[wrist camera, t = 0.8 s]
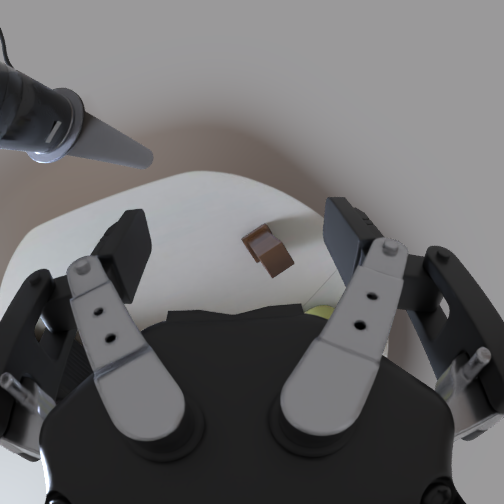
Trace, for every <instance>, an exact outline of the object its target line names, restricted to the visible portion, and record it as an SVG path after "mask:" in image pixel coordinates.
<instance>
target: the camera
mask: <svg viewBox="0 0 504 504" xmlns="http://www.w3.org/2000/svg"><path fill="white" fill-rule="evenodd" d="M92 373H93V370H92V367H91V365H90V362H89V360H88V357H87V354H86V351H85V349H84V347H83V346H82V345H80V344H79V343H78V342H77V341H76V340H75V339H74V341H73V344H72V347H71V350H70V353H69V356H68V359H67V362H66V365H65V368H64V372H63V375H62V378H61V382H60V386H59V389H58V393H57V397H56V401H55V404H56V405H57V404H59V403H60V402H61V401H62V400H63V399H64V398H65V397H66V396H67V395H68V394H70V393H71V392H72V391H73V390H74V389H75V388H76V387H77V386H79V385H80V384H81V383H82V382H83V381H84V380H85V379H86V378H87V377H89V376H90V375H91V374H92Z"/></svg>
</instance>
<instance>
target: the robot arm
mask: <svg viewBox="0 0 504 504" xmlns="http://www.w3.org/2000/svg"><path fill="white" fill-rule="evenodd" d="M0 39H1V43H2V50H3V56H4V60H5V63H6V64H4V63H2V62H0V149H10V150H18V151H27V152H34V153H38V154H50V153H52V152H54V151H56V150H57V149H59V148H60V147H61V146H62V145H63V144H64V143H65V142H66V140H67V139H68V137H69V135H70V133H71V131H72V129H73V125H74V121H75V110H74V106H73V104H72V102H71V101H70V100H69V99H68V98H67V97H65V96H64V95H61V94H59V93H57V92H55V91H54V90H52V89H50V88H48V87H47V86H44V85H43V84H41V83H39V82H38V81H36V80H34V79H32V78H30V77H29V76H27V75H25V74H23V73H21V72H19V71H18V70H15V69H14V68H13V66H12V65H11V63H10V61H9V59H8V56H7V52H6V45H5V40H4V36H3V33H2V30H1V28H0ZM323 238H324V242H325V244H326V246H327V249H328V251H329V253H330V255H331V257H332V259H333V261H334V263H335V265H336V267H337V269H338V271H339V273H340V275H341V278H342V280H343V282H344V284H345V286H346V289H345V291H344V293H343V295H342V297H341V298H340V300H339V302H338V304H337V306H336V307H335V309H334V311H333V313H332V314H331V316H330V318H329V320H328V319H326V318H323V317H320V316H317V315H313V314H307V313H303V309H302V305H301V304H289V305H277V306H267V307H263V308H260V309H256V310H252V311H248V312H244V313H240V314H236V315H229V314H222V313H216V312H209V311H203V310H184V311H168V314H167V319H166V321H163V322H160V323H157V324H154V325H152V326H149V327H147V328H146V329H144V330H142V331H141V332H140V331H139V329H138V328H137V326H136V324H135V323H134V321H133V319H132V318H131V316H130V314H129V313H128V311H127V309H126V307H125V306H124V304H132V301H133V299H134V296H135V293H136V290H137V288H138V285H139V282H140V279H141V277H142V274H143V272H144V269H145V266H146V264H147V261H148V259H149V256H150V254H151V249H152V244H151V238H150V234H149V230H148V226H147V221H146V217H145V213H144V211H143V209H134V210H126V211H125V212H124V214H123V215H122V217H121V218H120V219H119V221H118V222H116V223H115V224H113V225H112V226H111V227H109V228H108V230H107V231H106V232H105V234H104V236H103V237H102V238H101V240H100V242H99V243H98V244H97V246H96V247H95V249H94V250H93V252H92V253H91V255H90V256H84V257H82V258H79V259H77V260H76V261H74V262H73V263H72V264H71V265H70V266H69V267H68V269H67V272H66V273H67V275H65V276H61V277H58V278H55V279H53V278H52V276H51V274H50V272H49V270H47V269H40V270H38V271H35V272H34V273H32V274H31V275H29V276H28V277H27V278H26V280H25V281H24V282H23V284H22V286H21V287H20V289H19V290H18V292H17V294H16V295H15V297H14V299H13V300H12V302H11V304H10V305H9V307H8V309H7V311H6V312H5V314H4V316H3V318H2V320H1V321H0V445H1V446H3V447H4V448H6V449H8V450H9V451H11V452H13V453H16V454H18V455H20V456H21V457H23V458H25V459H27V460H29V461H32V462H36V461H38V460H40V459H41V460H42V462H43V467H44V472H45V478H46V489H47V496H46V501H45V504H466V503H465V502H464V501H463V499H462V498H461V496H460V495H459V493H458V492H457V490H456V488H455V486H454V484H453V480H452V468H451V464H452V463H451V462H452V448H453V442H454V441H456V440H458V439H463V440H466V441H470V440H473V439H475V438H476V437H478V436H479V435H481V434H482V433H484V432H485V431H487V430H488V429H489V428H491V427H492V426H493V425H495V424H496V423H497V422H499V421H500V420H501V419H503V418H504V322H503V320H502V319H501V317H500V315H499V314H498V312H497V311H496V309H495V308H494V306H493V305H492V303H491V302H490V300H489V299H488V298H487V296H486V295H485V293H484V292H483V290H482V289H481V288H480V287H479V285H478V284H477V282H476V281H475V280H474V278H473V277H472V276H471V274H470V273H469V272H468V271H467V269H466V268H465V267H464V265H463V264H462V263H461V262H460V261H459V259H458V258H457V257H456V256H455V255H454V254H453V253H452V252H451V251H449V250H448V249H446V248H443V247H440V246H430V247H429V248H428V249H427V251H426V254H425V257H423V256H416V255H410V254H408V250H407V248H406V247H405V246H404V245H403V244H402V243H401V242H399V241H397V240H394V239H391V238H385V237H384V236H383V235H382V234H381V232H380V231H379V230H378V229H377V227H376V226H375V225H374V224H373V223H372V221H371V220H369V218H368V217H367V215H366V214H365V213H364V212H362V211H360V210H359V209H357V208H353V207H352V206H351V204H350V203H349V202H348V201H347V200H346V199H345V198H344V197H328V198H327V200H326V205H325V215H324V225H323ZM443 297H444V298H445V300H446V301H447V303H448V305H449V309H450V313H449V317H448V319H447V317H446V315H445V314H444V312H443V310H442V308H441V307H440V305H439V304H440V302H441V300H442V298H443ZM397 309H404V310H406V311H407V313H408V315H409V317H410V319H411V321H412V323H413V325H414V328H415V329H416V332H417V334H418V336H419V338H420V341H421V343H422V345H423V347H424V349H425V352H426V354H427V356H428V359H429V361H430V364H431V366H432V368H433V371H434V373H435V375H436V378H437V382H436V386H435V391H434V390H433V389H432V388H430V387H428V386H427V385H426V384H424V383H423V382H421V381H420V380H418V379H417V378H415V377H414V376H412V375H411V374H409V373H408V372H406V371H405V370H403V369H402V368H400V367H399V366H397V365H396V364H394V363H393V362H392V361H390V360H389V359H387V358H386V357H384V356H383V355H382V354H383V351H384V348H385V345H386V342H387V339H388V336H389V333H390V330H391V327H392V323H393V320H394V317H395V313H396V310H397ZM39 318H41V319H42V321H43V322H44V324H45V325H46V328H45V331H44V333H43V335H42V338H41V340H40V342H39V343H38V341H37V340H36V338H35V333H34V330H35V326H36V324H37V322H38V320H39ZM77 330H78V331H79V334H80V337H81V340H82V343H83V346H84V349H85V351H86V354H87V357H88V360H89V362H90V365H91V367H92V370H93V373H92V374H91V375H90V376H89V377H87V378H86V379H85V380H84V381H83V382H82V383H81V384H80V385H79V386H77V387H76V388H75V389H74V390H73V391H72V392H71V393H70V394H68V395H67V396H66V397H65V398H64V399H63V400H62V401H61V402H60V403H59V404H57V405H56V404H55V401H56V397H57V393H58V389H59V386H60V382H61V378H62V375H63V372H64V368H65V365H66V362H67V359H68V356H69V353H70V350H71V347H72V344H73V341H74V338H75V335H76V332H77Z"/></svg>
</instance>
